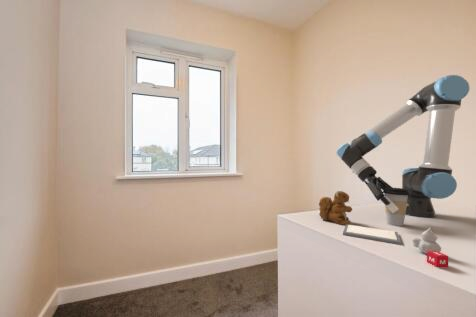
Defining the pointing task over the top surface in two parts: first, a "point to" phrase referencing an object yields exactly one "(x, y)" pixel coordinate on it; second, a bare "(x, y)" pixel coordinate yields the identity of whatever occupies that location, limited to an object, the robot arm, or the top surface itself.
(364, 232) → the picture frame
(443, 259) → the dice
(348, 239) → the top surface
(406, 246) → the top surface
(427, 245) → the light grey lumpy piece
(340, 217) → the stuffed squirrel
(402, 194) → the coffee cup
